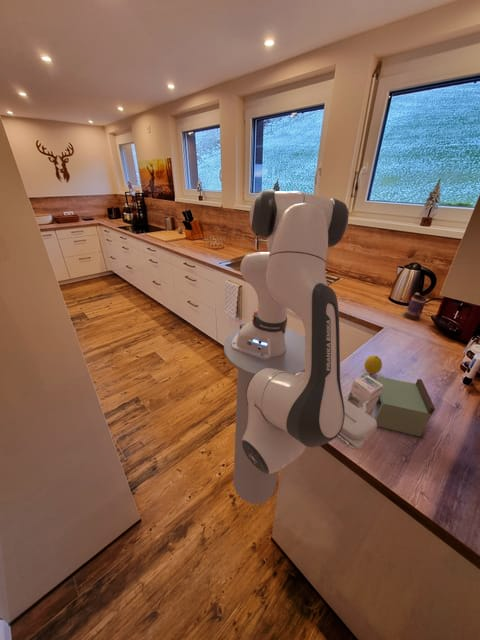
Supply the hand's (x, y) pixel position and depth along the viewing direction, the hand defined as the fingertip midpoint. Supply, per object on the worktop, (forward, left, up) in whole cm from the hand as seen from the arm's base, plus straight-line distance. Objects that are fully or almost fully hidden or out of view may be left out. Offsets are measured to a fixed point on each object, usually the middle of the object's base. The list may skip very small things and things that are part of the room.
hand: (347, 390), depth 63 cm
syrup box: (+7, +10, -19) cm, 22 cm away
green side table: (+18, +15, -18) cm, 30 cm away
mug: (+42, +93, -19) cm, 104 cm away
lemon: (+14, +34, -19) cm, 41 cm away
